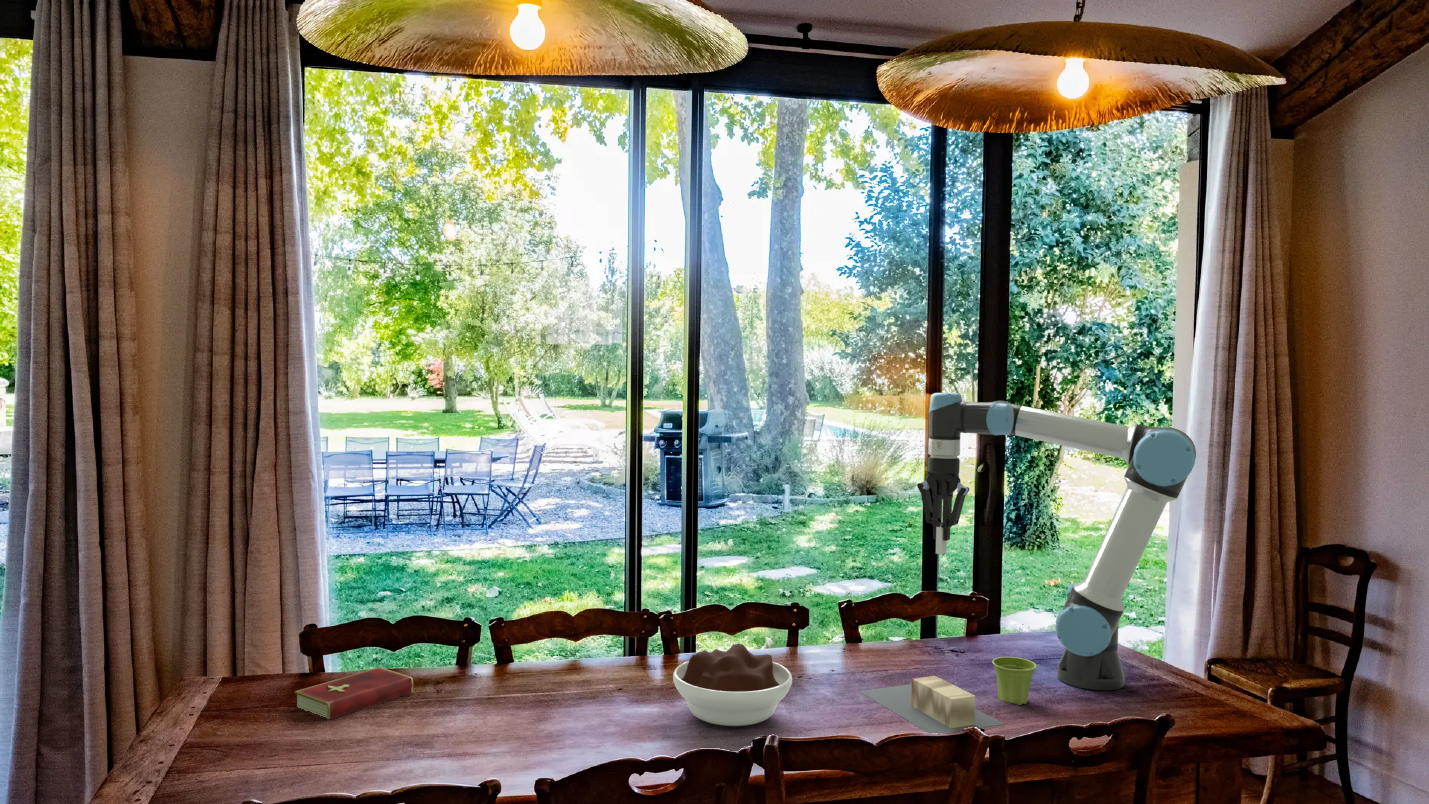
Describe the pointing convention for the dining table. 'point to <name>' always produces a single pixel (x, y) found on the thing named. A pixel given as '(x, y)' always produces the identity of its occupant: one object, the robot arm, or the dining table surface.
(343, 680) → the hardcover book
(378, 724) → the dining table surface
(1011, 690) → the plant pot
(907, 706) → the rubber mat
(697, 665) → the chocolate pudding bowl
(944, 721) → the birch block
